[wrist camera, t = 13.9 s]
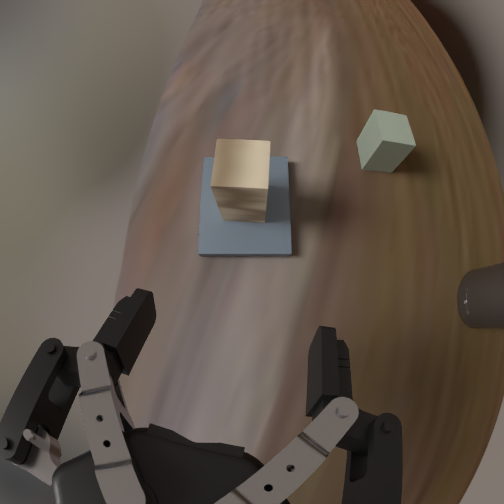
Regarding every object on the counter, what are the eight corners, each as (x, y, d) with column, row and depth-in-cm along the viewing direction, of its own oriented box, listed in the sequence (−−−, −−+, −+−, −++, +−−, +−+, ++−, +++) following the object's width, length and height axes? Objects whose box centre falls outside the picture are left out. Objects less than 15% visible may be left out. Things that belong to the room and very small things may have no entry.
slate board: (286, 162, 37) (287, 156, 35) (290, 256, 34) (291, 253, 33) (206, 162, 37) (204, 157, 35) (200, 256, 34) (198, 253, 33)
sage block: (385, 144, 37) (406, 115, 29) (391, 172, 36) (415, 145, 28) (356, 141, 37) (374, 109, 30) (361, 169, 36) (382, 140, 29)
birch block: (266, 185, 34) (270, 141, 25) (264, 223, 33) (268, 188, 24) (226, 183, 34) (217, 139, 25) (223, 220, 33) (210, 186, 24)
